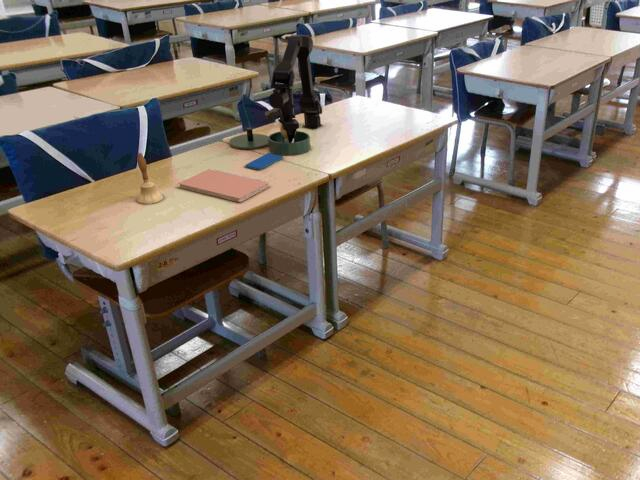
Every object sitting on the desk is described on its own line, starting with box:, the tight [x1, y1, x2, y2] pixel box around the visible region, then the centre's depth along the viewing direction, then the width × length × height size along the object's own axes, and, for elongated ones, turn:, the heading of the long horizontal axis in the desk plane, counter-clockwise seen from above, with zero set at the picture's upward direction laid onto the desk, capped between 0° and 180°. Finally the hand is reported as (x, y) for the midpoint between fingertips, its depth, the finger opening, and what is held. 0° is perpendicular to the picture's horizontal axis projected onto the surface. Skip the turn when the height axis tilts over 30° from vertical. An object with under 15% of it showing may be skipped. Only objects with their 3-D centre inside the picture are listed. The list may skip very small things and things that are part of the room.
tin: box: [267, 130, 311, 157], centre depth 256 cm, size 16×16×5 cm
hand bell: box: [136, 152, 164, 205], centre depth 209 cm, size 8×8×16 cm
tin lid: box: [228, 127, 269, 150], centre depth 261 cm, size 17×17×6 cm
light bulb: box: [279, 124, 296, 143], centre depth 254 cm, size 6×6×10 cm
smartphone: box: [245, 152, 284, 171], centre depth 243 cm, size 7×1×15 cm
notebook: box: [177, 168, 270, 203], centre depth 222 cm, size 27×17×2 cm, turn 63°
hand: (289, 140), depth 256 cm, fingers closed on light bulb, 6 cm apart
